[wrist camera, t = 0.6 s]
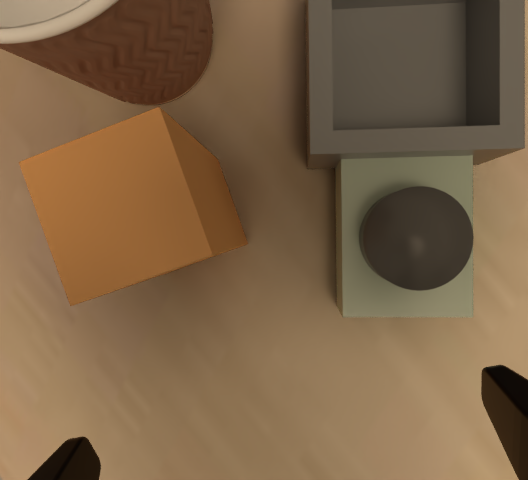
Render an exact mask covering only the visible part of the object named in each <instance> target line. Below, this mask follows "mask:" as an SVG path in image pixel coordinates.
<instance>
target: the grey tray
mask: <svg viewBox="0 0 528 480" xmlns="http://www.w3.org/2000/svg"><path fill="white" fill-rule="evenodd" d="M305 15H306V94H307V169H328V168H335V198H336V289H337V307H338V309H339V311H340V313H341V315H342V317H473V165H478V164H481V163H484V162H487V161H490V160H493V159H495V158H498V157H501V156H504V155H507V154H509V153H512V152H515V151H518V150H521V149H524V148H525V0H305Z"/></svg>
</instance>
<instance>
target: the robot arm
mask: <svg viewBox="0 0 528 480" xmlns="http://www.w3.org/2000/svg"><path fill="white" fill-rule="evenodd" d="M481 395H482V401H483V404H484V407H485V409H486V411H487V413H488V415H489V417H490V420H491V422H492V424H493V426H494V428H495V430H496V432H497V435H498V437H499V439H500V441H501V443H502V445H503V447H504V450H505V452H506V454H507V456H508V458H509V460H510V462H511V465H512V467H513V469H514V471H515V473H516V475H517V477H518V479H519V480H528V380H527V379H526V378H524V377H522V376H521V375H519V374H517V373H516V372H514V371H513V370H511V369H509V368H508V367H506V366H503V365H496V366H491V367H485V368H483V370H482V387H481ZM100 470H101V464H100V460H99V457H98V456H97V454H96V452H95V450H94V449H93V447H92V445H91V443H90V442H89V440H88V439H87V438H86V437H78V438H72V439H68V440H67V441H65V442H64V443H63V444H62V445H61V446H60V447H59V448H58V449H57V450H56V451H55V452H54V453H53V454H52V455H51V456H50V457H49V458H48V459H47V460H46V461H45V462H44V463H43V464H42V465H41V466H40V467H39V468H38V469H37V470H36V471H35V472H34V473H33V474H32V476H31V477H30V478H29V479H28V480H99V476H100Z"/></svg>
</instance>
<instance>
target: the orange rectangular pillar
mask: <svg viewBox="0 0 528 480" xmlns="http://www.w3.org/2000/svg"><path fill="white" fill-rule="evenodd" d="M19 164H20V167H21V170H22V172H23V175H24V178H25V181H26V184H27V186H28V189H29V192H30V195H31V198H32V200H33V203H34V206H35V209H36V211H37V214H38V217H39V220H40V223H41V225H42V228H43V231H44V234H45V236H46V239H47V242H48V245H49V248H50V250H51V253H52V256H53V259H54V262H55V264H56V267H57V270H58V273H59V275H60V278H61V281H62V284H63V287H64V289H65V292H66V295H67V298H68V300H69V303H70V306H72V305H75V304H78V303H81V302H84V301H87V300H90V299H93V298H96V297H99V296H102V295H105V294H108V293H111V292H113V291H116V290H119V289H122V288H125V287H128V286H131V285H134V284H137V283H140V282H143V281H146V280H149V279H152V278H154V277H157V276H160V275H163V274H166V273H169V272H172V271H174V270H177V269H180V268H183V267H186V266H188V265H191V264H194V263H197V262H199V261H202V260H205V259H208V258H211V257H213V256H216V255H219V254H222V253H224V252H227V251H230V250H233V249H235V248H238V247H241V246H244V245H247V244H248V242H247V239H246V236H245V234H244V231H243V228H242V225H241V222H240V220H239V217H238V214H237V211H236V209H235V206H234V203H233V200H232V197H231V195H230V192H229V189H228V186H227V184H226V181H225V178H224V175H223V172H222V170H221V167H220V164H219V161H218V159H217V158H216V157H215V156H214V155H212V154H211V153H210V152H209V151H208V150H207V149H206V148H205V147H204V146H202V145H201V144H200V143H199V142H198V141H197V140H196V139H195V138H194V137H192V136H191V135H190V134H189V133H188V132H187V131H186V130H185V129H184V128H182V127H181V126H180V125H179V124H178V123H177V122H176V121H175V120H174V119H172V118H171V117H170V116H169V115H168V114H167V113H166V112H165V111H164V110H162V109H161V108H160V107H157V108H154V109H152V110H149V111H147V112H144V113H142V114H139V115H137V116H134V117H132V118H129V119H127V120H124V121H122V122H119V123H117V124H114V125H111V126H109V127H106V128H104V129H101V130H99V131H96V132H94V133H91V134H89V135H86V136H84V137H81V138H79V139H76V140H74V141H71V142H69V143H66V144H63V145H61V146H58V147H56V148H53V149H51V150H48V151H46V152H43V153H41V154H38V155H36V156H33V157H31V158H28V159H26V160H23V161H21V162H19Z"/></svg>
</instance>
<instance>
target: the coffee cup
mask: <svg viewBox="0 0 528 480" xmlns="http://www.w3.org/2000/svg"><path fill="white" fill-rule="evenodd" d="M212 23H213V22H212V16H211V9H210V4H209V0H0V48H1V49H3V50H6V51H8V52H10V53H13V54H15V55H17V56H20V57H22V58H24V59H26V60H29V61H31V62H33V63H36V64H38V65H40V66H43V67H45V68H47V69H49V70H52V71H54V72H56V73H59V74H61V75H63V76H66V77H68V78H70V79H72V80H75V81H77V82H79V83H82V84H84V85H86V86H89V87H91V88H93V89H95V90H98V91H100V92H102V93H105V94H107V95H109V96H112V97H114V98H117V99H119V100H121V101H124V102H126V101H128V102H130V103H133V104H135V103H136V104H142V105H157V104H163V103H167V102H170V101H172V100H175V99H178V98H179V97H181V96H182V95H184V94H185V93H187V92H188V91H189V90H190V89H191V88H192V87H193V86H194V85H195V84H196V83H197V82H198V81H199V79H200V78H201V76H202V75H203V74H204V71H205V69H206V67H207V65H208V63H209V59H210V55H211V50H212V34H213V28H212Z"/></svg>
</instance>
